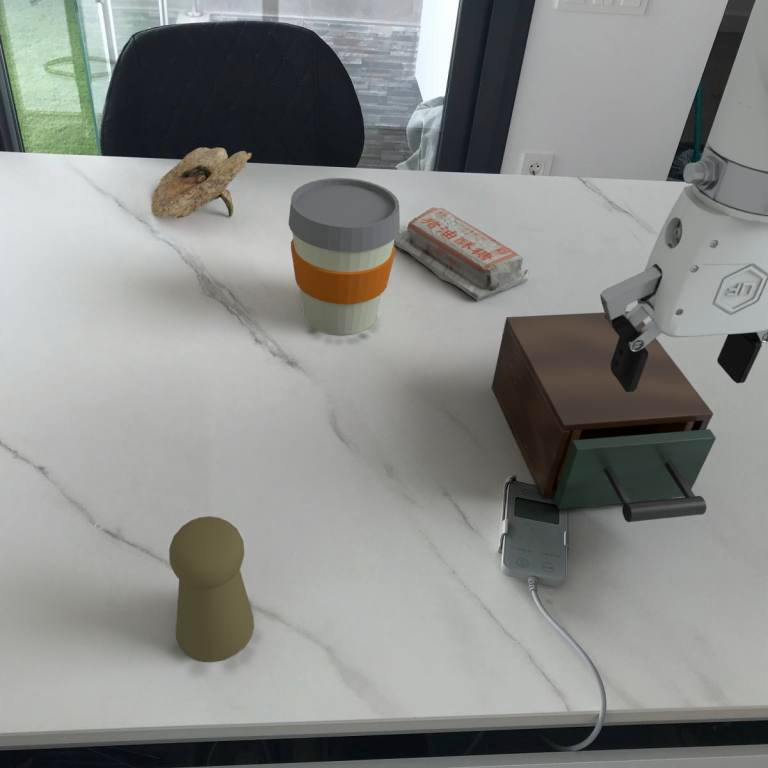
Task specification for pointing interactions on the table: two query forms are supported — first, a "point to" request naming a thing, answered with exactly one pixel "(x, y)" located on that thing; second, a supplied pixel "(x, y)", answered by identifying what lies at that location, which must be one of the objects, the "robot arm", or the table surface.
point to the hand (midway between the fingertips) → (676, 376)
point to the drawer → (635, 469)
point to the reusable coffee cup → (342, 251)
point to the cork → (210, 590)
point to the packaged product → (461, 254)
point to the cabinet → (580, 387)
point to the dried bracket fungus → (197, 182)
